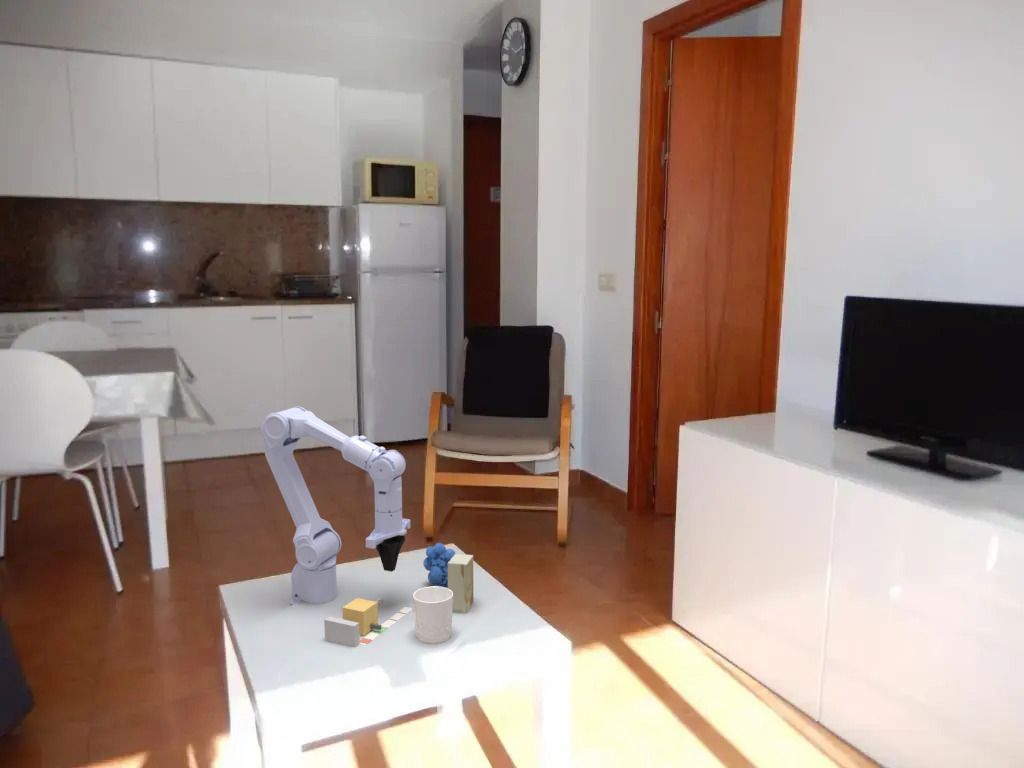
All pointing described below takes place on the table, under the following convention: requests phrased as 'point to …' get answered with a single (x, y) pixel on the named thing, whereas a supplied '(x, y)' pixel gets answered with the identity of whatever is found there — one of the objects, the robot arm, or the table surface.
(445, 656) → the table surface
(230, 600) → the table surface
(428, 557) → the grapes
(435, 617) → the white cup
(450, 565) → the skincare box
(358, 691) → the table surface
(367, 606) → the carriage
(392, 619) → the gauge track
